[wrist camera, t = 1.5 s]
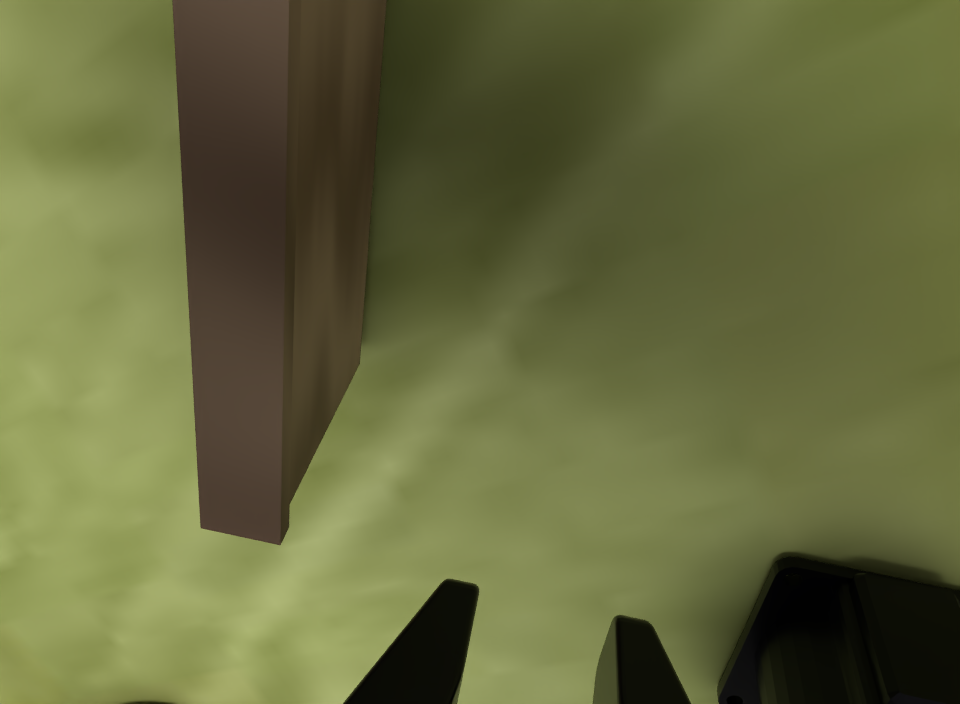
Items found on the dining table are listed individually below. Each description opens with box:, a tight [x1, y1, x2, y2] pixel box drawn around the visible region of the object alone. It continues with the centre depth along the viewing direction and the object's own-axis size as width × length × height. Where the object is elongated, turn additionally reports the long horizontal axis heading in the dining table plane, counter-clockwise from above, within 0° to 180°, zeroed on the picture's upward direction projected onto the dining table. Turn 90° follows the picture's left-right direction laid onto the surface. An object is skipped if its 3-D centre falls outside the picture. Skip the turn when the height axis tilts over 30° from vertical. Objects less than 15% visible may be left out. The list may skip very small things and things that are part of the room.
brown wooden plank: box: [173, 0, 387, 545], centre depth 16 cm, size 14×2×6 cm, turn 172°
